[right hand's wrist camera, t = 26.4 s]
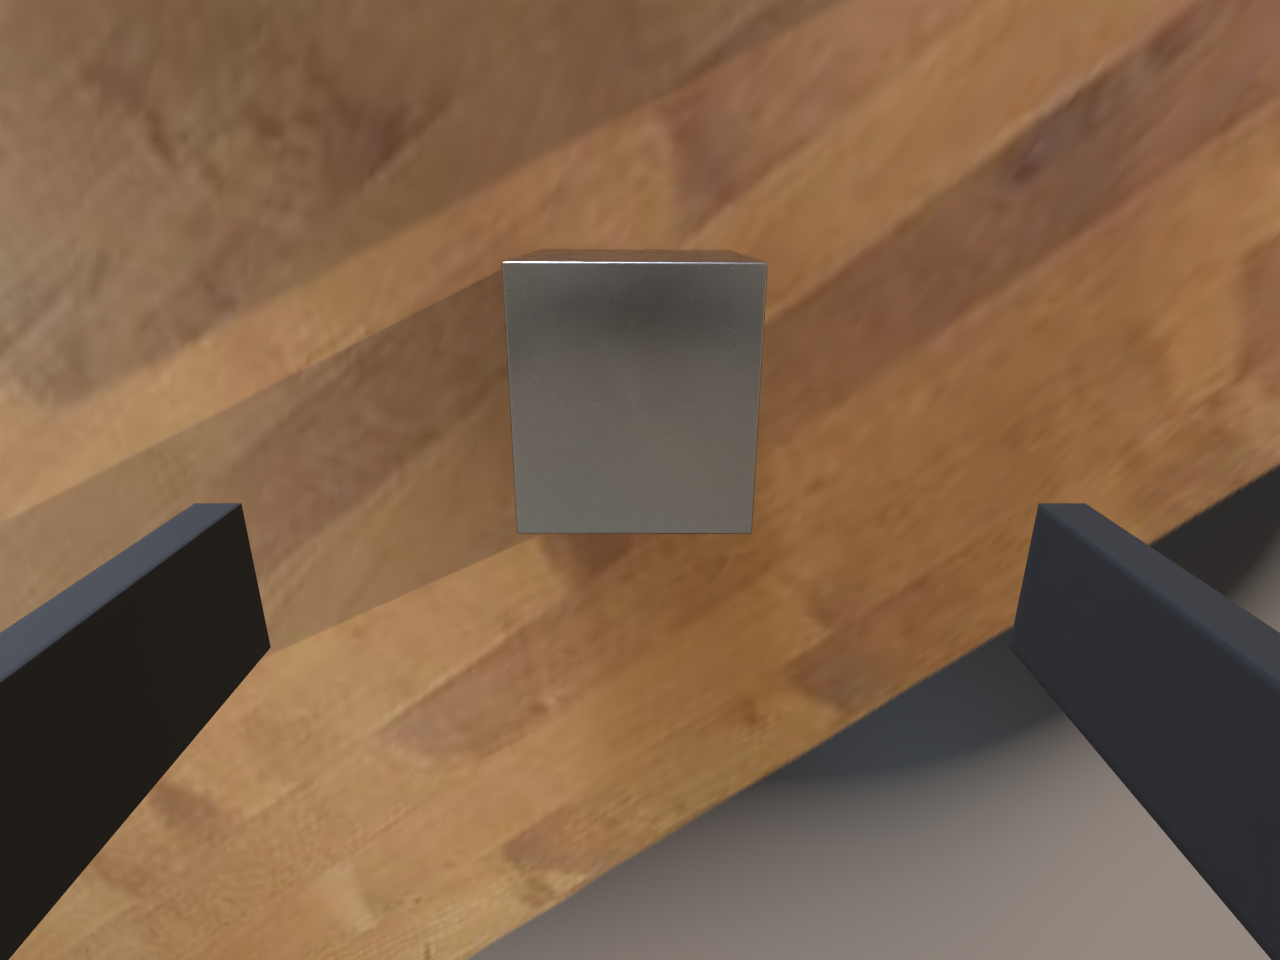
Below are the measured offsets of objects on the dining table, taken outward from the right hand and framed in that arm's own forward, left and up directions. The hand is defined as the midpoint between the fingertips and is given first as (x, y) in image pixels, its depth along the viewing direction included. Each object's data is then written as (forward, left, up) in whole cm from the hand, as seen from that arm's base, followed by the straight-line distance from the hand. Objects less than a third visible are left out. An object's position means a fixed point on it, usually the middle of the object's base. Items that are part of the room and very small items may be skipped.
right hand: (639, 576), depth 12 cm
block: (0, 0, -22) cm, 22 cm away
